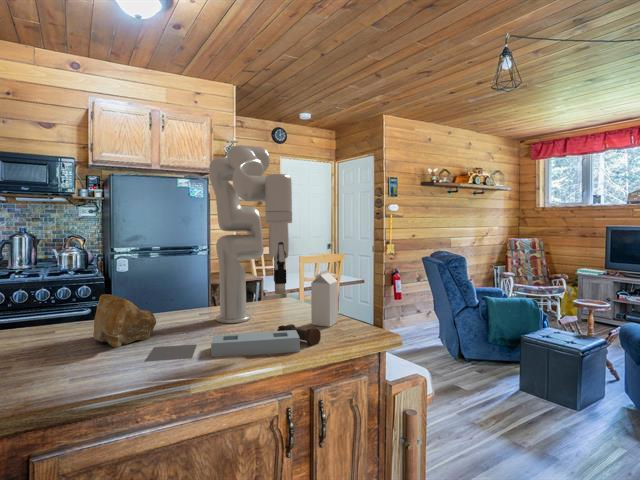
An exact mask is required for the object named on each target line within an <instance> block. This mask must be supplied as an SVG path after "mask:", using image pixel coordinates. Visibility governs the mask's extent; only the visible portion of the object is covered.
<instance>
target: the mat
mask: <svg viewBox="0 0 640 480" xmlns="http://www.w3.org/2000/svg"><path fill="white" fill-rule="evenodd" d="M197 345H198V344H184V345H183V344H182V345H167V346H154V347H153V348H152V350H151V351H150V352H149V354H148V355H147V357H146V358H145V360H144V362H145V363H146V362H159V361H171V360H185V359H186V360H187V359H193V357H194V354H195V351H196V348H197Z"/></svg>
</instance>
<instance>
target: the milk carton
mask: <svg viewBox="0 0 640 480" xmlns="http://www.w3.org/2000/svg"><path fill="white" fill-rule="evenodd" d="M310 284H311V285H310V286H311V287H310V288H311V289H310V291H311V292H310V295H311V297H310V299H311V310H310V311H311V326H320V327H329V328H330V327H333V326H334V325H336V324H337V323H338V322H339V321H338V319H339V318H338V316H339V314H338V312H339V311H338V301H339V300H338V280H337V279H336V278H335V277H334V276H333V275H332V274H331V273H330V270H329V269H326V270H322V271H320V272H319V273H318V274H317V275H315V279H313V281H312V282H311V283H310Z"/></svg>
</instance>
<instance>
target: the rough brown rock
mask: <svg viewBox="0 0 640 480" xmlns="http://www.w3.org/2000/svg"><path fill="white" fill-rule="evenodd" d="M93 322H94V323H93V335H92V336H93V339H94V340H95V341H97V342H100V343H107V344H109V346H110V347H112V348H114V349H116V348H117V349H118V348H120V347H122V345H128V344H131V343H133V342H135V341H147V340H149V339H150V338H151V336H152V332H153V330H154V328H155V327H156V325H157V319H156V317H155V315H154V312H152V311H150V310H146V309H145V310H143V309H139V307H138V306H136V305H135V304H134V303H133V302H131V301H130V300H128V299H125V298H123V297H120V296H116V295H113V294H106V293H105V294H101V295H100V296H99V300H98V303H97V306H96V312H95V315H94V319H93Z"/></svg>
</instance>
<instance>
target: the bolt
mask: <svg viewBox="0 0 640 480" xmlns="http://www.w3.org/2000/svg"><path fill="white" fill-rule="evenodd" d="M287 330H296V331H297V333H298V335H299V337H300V341H304V342H306V343H307V345H308V346H310V347H312V346H317V345H318V344H319V343H320V341H321V339H322V338H321V337H322V335H321V333H322V332H321V331H320V329H319V328H318V327H317V326H314V327H310V328H308V329H304V328H299V327H297V326H296V325H295V324H292V323H289V324H286V325H282V324H281V325H280V326H278V327H277V329H276V331H287Z"/></svg>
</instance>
